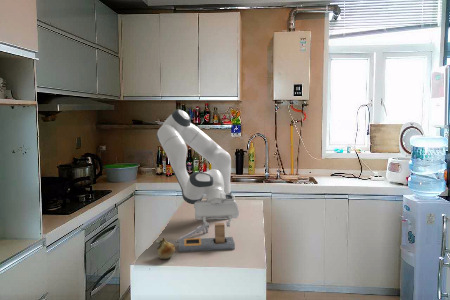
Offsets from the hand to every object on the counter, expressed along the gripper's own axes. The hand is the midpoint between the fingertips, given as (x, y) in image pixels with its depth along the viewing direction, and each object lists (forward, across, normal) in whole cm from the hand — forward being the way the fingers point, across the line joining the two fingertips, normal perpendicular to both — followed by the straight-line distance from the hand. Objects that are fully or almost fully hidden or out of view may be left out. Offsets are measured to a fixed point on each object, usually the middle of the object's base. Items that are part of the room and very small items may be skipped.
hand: (217, 226), depth 168 cm
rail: (+8, -5, +4) cm, 10 cm away
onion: (+16, -22, -3) cm, 27 cm away
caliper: (-3, -12, +15) cm, 19 cm away
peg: (+7, +1, +4) cm, 9 cm away
